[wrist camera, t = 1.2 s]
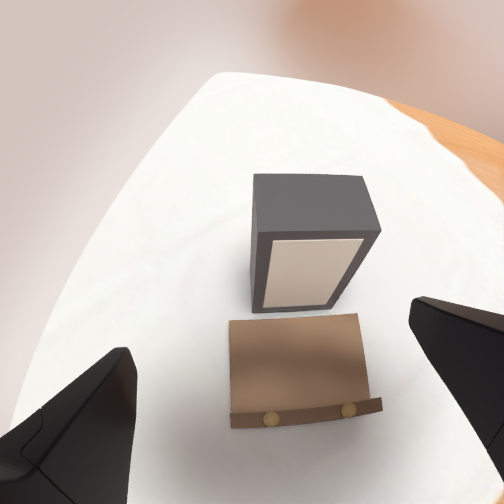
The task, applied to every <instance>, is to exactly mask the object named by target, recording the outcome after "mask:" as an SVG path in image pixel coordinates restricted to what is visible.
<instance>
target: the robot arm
mask: <svg viewBox="0 0 504 504" xmlns="http://www.w3.org/2000/svg"><path fill="white" fill-rule="evenodd" d="M409 326H410V328H411V330H412V332H413V333H414V335H415V337H416V339H417V340H418V342H419V344H420V346H421V347H422V349H423V351H424V353H425V355H426V356H427V358H428V360H429V361H430V363H431V364H432V366H433V367H434V369H435V370H436V371H437V373H438V374H439V376H440V377H441V379H442V380H443V382H444V383H445V385H446V386H447V388H448V389H449V391H450V392H451V394H452V395H453V397H454V398H455V400H456V401H457V403H458V405H459V406H460V408H461V409H462V411H463V412H464V414H465V416H466V417H467V419H468V420H469V422H470V424H471V425H472V427H473V428H474V430H475V432H476V433H477V435H478V437H479V438H480V440H481V442H482V444H483V445H484V447H485V449H487V450H486V451H487V453H488V454H489V456H490V458H491V460H492V461H493V463H494V465H495V467H496V469H497V471H498V472H499V474H500V476H501V478H502V480H503V482H504V315H501V314H497V313H493V312H488V311H484V310H480V309H476V308H471V307H467V306H463V305H459V304H454V303H450V302H446V301H442V300H438V299H433V298H429V297H425V296H421V297H418V298H414V299H413V300H412V302H411V308H410V314H409ZM136 402H137V369H136V366H135V364H134V361H133V358H132V355H131V353H130V350H129V349H128V348H127V347H117V348H114V349H113V350H111V351H110V352H109V353H108V354H106V355H105V356H104V357H103V358H101V359H100V360H99V361H98V362H96V363H95V364H94V365H93V366H91V367H90V368H89V369H88V370H86V371H85V372H84V373H83V374H81V375H80V376H79V377H78V378H76V379H75V380H74V381H73V382H71V383H70V384H69V385H68V386H67V387H65V388H64V389H63V390H62V391H60V392H59V393H58V394H57V395H55V396H54V397H53V398H52V399H51V400H49V401H48V402H47V403H46V404H44V405H43V406H42V407H41V409H38V410H37V411H36V412H35V413H33V414H32V415H31V416H30V417H28V418H27V419H26V420H24V421H23V422H22V423H21V424H19V425H18V426H16V427H15V428H14V429H12V430H11V431H9V432H8V433H7V434H5V435H4V436H2V437H1V438H0V504H127V494H128V482H129V472H130V462H131V453H132V445H133V437H134V430H135V422H136Z"/></svg>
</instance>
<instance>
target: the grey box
mask: <svg viewBox="0 0 504 504" xmlns="http://www.w3.org/2000/svg"><path fill="white" fill-rule="evenodd" d="M380 232H381V227H380V224H379V221H378V218H377V215H376V212H375V209H374V206H373V204H372V201H371V198H370V195H369V192H368V190H367V187H366V184H365V182H364V179H363V177H362V176H353V175H328V174H254V178H253V205H252V232H251V259H250V276H251V297H252V313H263V312H286V311H304V310H320V309H332V307H333V306H334V304H335V303H336V301H337V300H338V298H339V297H340V295H341V294H342V292H343V291H344V289H345V288H346V286H347V285H348V283H349V282H350V280H351V279H352V277H353V276H354V274H355V273H356V271H357V269H358V268H359V266H360V265H361V263H362V262H363V260H364V258H365V257H366V255H367V253H368V252H369V250H370V249H371V247H372V245H373V244H374V242H375V240H376V239H377V237H378V235H379V234H380Z"/></svg>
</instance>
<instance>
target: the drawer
mask: <svg viewBox="0 0 504 504" xmlns="http://www.w3.org/2000/svg"><path fill="white" fill-rule="evenodd" d="M229 343H230V381H231V411H232V413H230V418H231V428H259V427H275V426H287V425H298V424H307V423H315V422H323V421H330V420H337V419H343V418H349V417H355V416H360V415H365V414H370V413H375V412H380V411H383V408H382V400H381V397H379V398H374V399H370V394H369V385H368V378H367V370H366V363H365V356H364V350H363V343H362V337H361V331H360V325H359V320H358V314H357V313H355V314H343V315H331V316H317V317H302V318H284V319H262V320H231V321H229Z"/></svg>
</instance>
